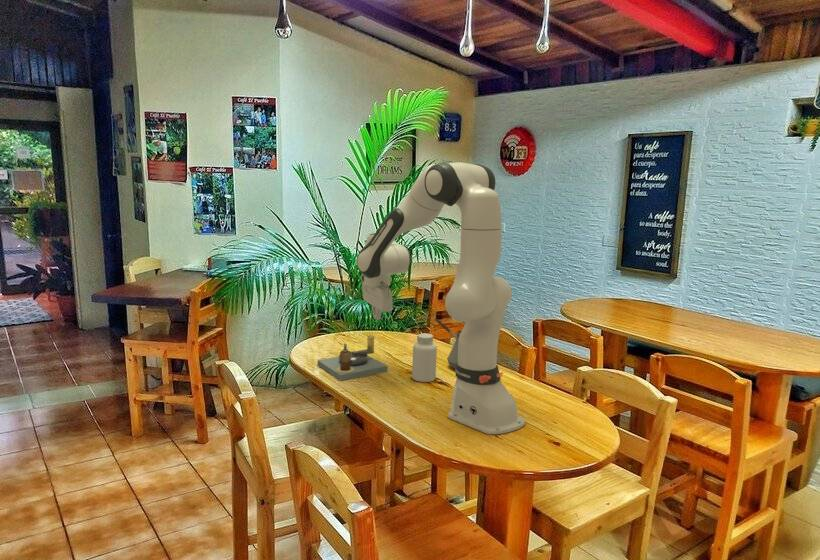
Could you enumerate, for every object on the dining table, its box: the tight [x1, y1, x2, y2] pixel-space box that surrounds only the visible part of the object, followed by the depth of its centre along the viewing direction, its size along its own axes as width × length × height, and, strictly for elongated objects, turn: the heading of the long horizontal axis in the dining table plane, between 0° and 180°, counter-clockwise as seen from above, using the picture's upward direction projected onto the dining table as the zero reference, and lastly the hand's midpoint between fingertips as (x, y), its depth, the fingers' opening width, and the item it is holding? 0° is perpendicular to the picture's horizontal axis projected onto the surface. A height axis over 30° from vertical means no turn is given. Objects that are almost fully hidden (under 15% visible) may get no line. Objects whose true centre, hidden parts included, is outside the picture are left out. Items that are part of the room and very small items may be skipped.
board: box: [317, 355, 389, 382], centre depth 198 cm, size 18×18×2 cm
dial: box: [338, 335, 375, 366], centre depth 200 cm, size 10×13×8 cm
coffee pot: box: [432, 318, 463, 370], centre depth 204 cm, size 21×12×15 cm, turn 40°
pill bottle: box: [411, 332, 438, 383], centre depth 189 cm, size 8×8×15 cm
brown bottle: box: [339, 343, 351, 371], centre depth 190 cm, size 3×3×9 cm
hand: (376, 318), depth 197 cm, fingers closed
